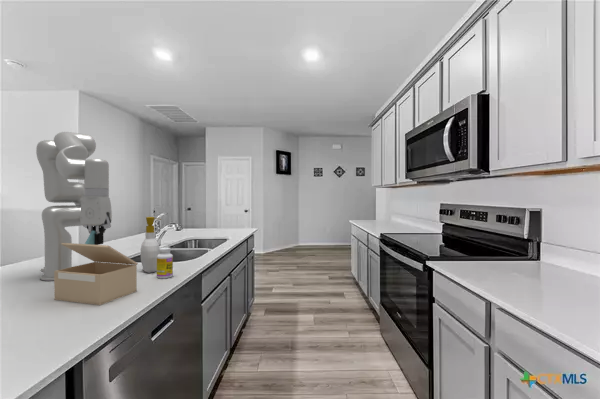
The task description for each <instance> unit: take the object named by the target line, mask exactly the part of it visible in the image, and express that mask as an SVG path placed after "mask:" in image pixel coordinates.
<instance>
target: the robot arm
mask: <svg viewBox="0 0 600 399" xmlns="http://www.w3.org/2000/svg"><path fill="white" fill-rule="evenodd" d="M96 149H97V143H96V141H95V138H94V137H93V136H91V135H89V134H86V133H85V134H84V133H77V132H72V131H61V132H59V133H56V134H55V135H54V137H53V140H52V139H51V140H50V139H48V140H47V139H46V140H45V139H44V140H41V141H39V142H38V143H37V145H36V148H35V151H36V152H35V153H36V158H37V161H38V164H39V165H40V167H41V170H42V175H43V178H42V179H43V187H44V188H43V191H44V197H45V200H46V201H47V202H48V203H54V204H55V203H56V204H65V203H66V204H68V203H69V204H70V203H71V205H50V206H47V207H45V208H44V209H42V212H41V220H42V226H43V233H44V267H43V268H40V269H39V270H40V273H41V272H42V273H43V274H42V275H41V276H40V277H39V280H41V281H45V282H46V281H48V282H49V281H50V282H51V281H52V282H54V271H57V270H61V269H65V268H70V267H73V262H72V261H73V260H72V259H73V258H72V254H73V253H72V252H73V250H71V249H69V248H67V247H65V246H63V245H61V244H62V243H73V240H72V235H71V234H70V232H69V231H68V230H67V229H66V228H67V227H69V228H70V227H71V228H72V227H83V228H84V229H85V228H86V229H87V231H88V234H90V233H91V232H92V231H96V234H95V245H104V234H105V232H106V230H107V229H110V228H111V227H112V224H111V223H112V220H113V218H112V216H113V215H112V214H113V211H112V203H111V198H110V189H109V187H110V186H109V184H110V181H109V180H110V179H109V178H110V177H109V176H110V172H109V171H110V165H109V162H108V161H107V160H106V159H99V158H89V157H91V156H92V155H93V154H94V153H95V151H96ZM88 158H89V159H88ZM69 180H75V181H69ZM76 180H77V181H76ZM81 180H82V181H83V182H84V183H83V182H79V181H81ZM73 203H74V204H73ZM72 204H73V205H72Z"/></svg>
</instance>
